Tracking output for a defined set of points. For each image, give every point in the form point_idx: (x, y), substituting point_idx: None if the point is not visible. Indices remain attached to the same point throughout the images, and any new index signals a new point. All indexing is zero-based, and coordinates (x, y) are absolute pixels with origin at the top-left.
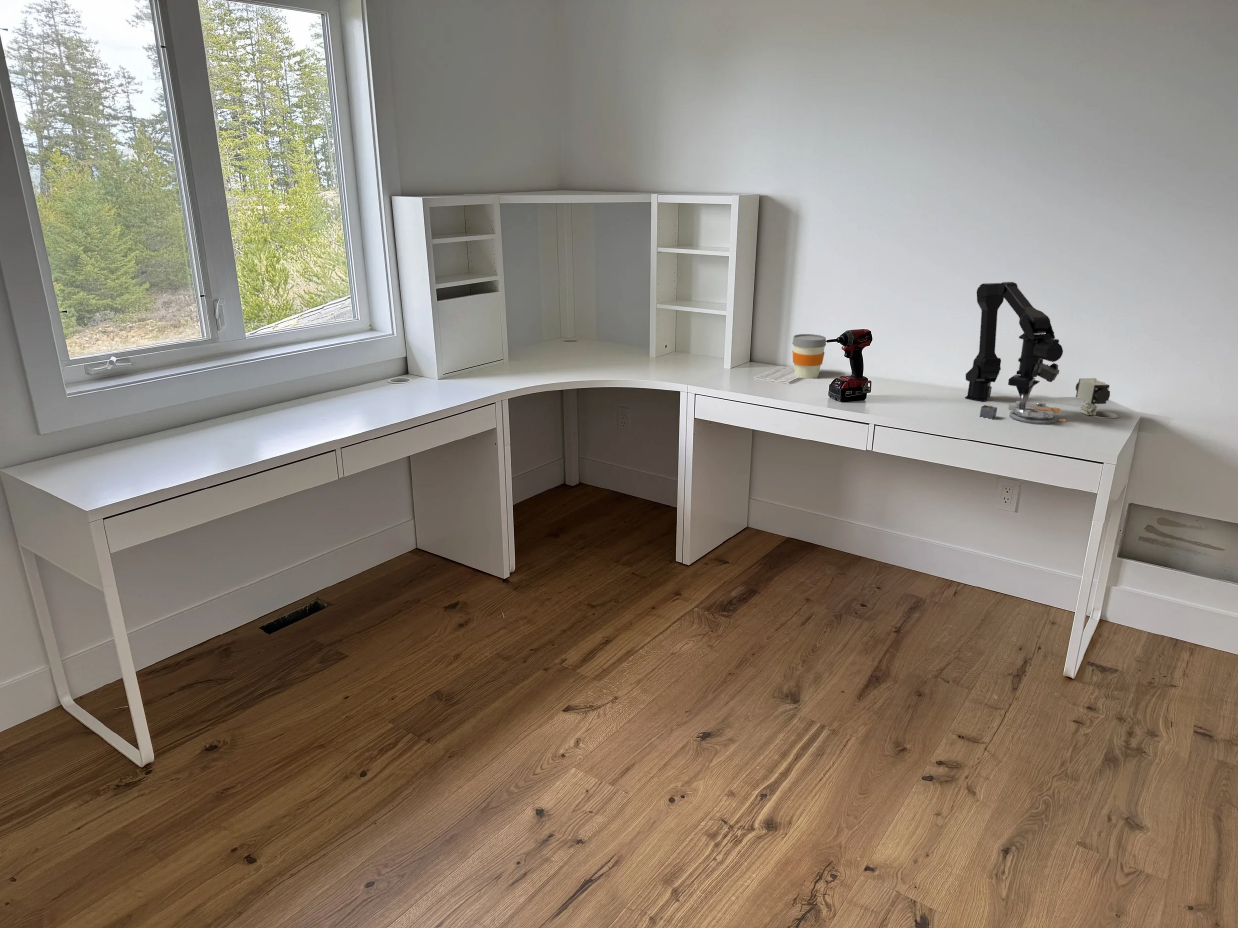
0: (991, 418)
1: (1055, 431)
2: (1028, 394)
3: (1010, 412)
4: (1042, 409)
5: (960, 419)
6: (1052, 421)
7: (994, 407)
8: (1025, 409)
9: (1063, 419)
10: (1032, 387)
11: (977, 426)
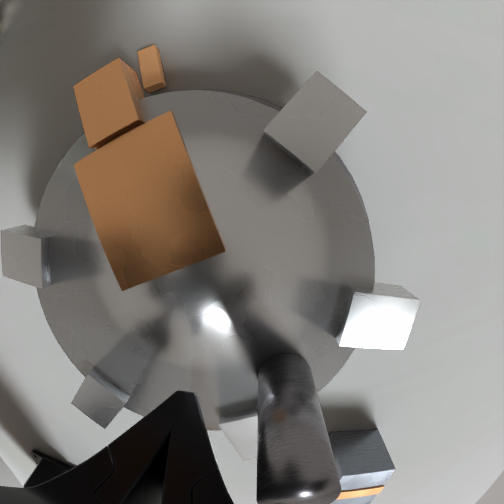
0: (378, 435)
1: (438, 81)
2: (182, 456)
3: None
4: (193, 206)
5: (417, 479)
6: (265, 103)
7: (348, 482)
8: (344, 345)
9: (145, 61)
10: (62, 491)
11: (490, 412)
